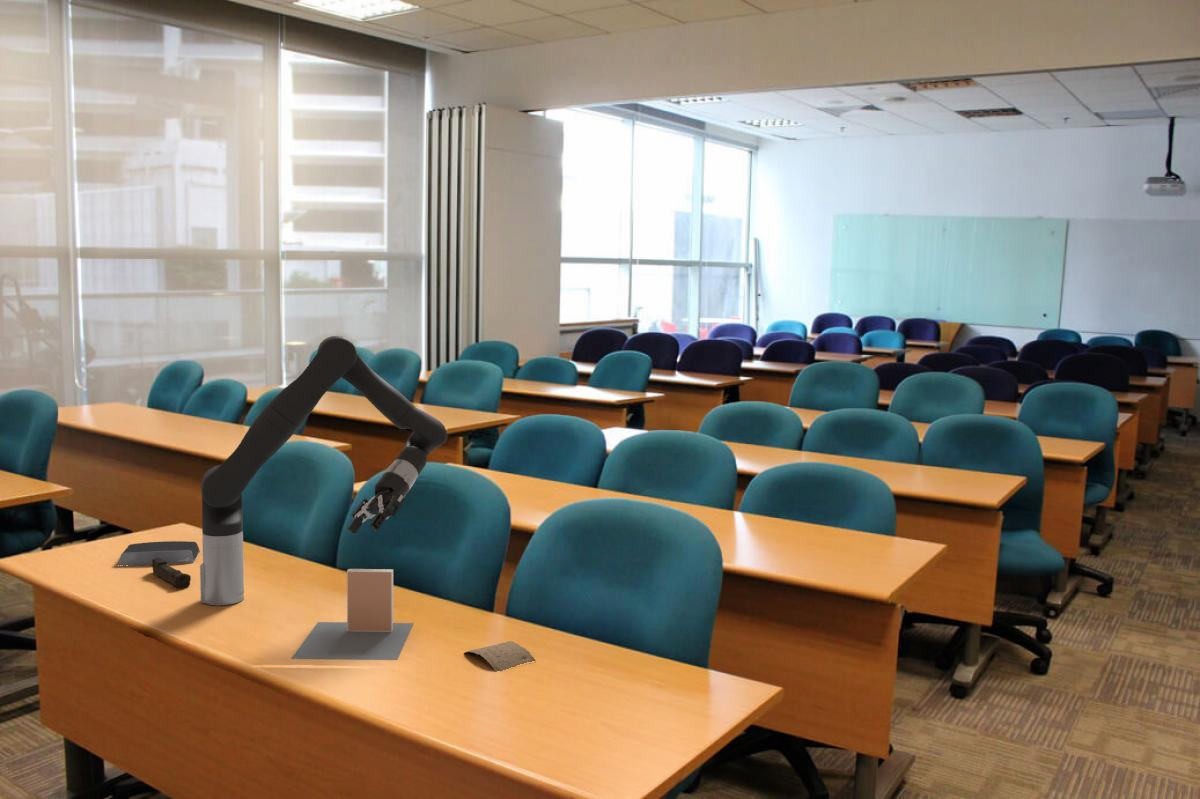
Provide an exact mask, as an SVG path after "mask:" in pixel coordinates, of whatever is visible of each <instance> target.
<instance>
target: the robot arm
mask: <svg viewBox="0 0 1200 799" xmlns="http://www.w3.org/2000/svg"><path fill="white" fill-rule="evenodd" d="M340 379H343V380H344V381H346V382H348V383H349V384H350V385H351V386H352V387H354V388H355V389H356V390H357V391H358V392H359V393H360V394H362V395H363V396H364V398H366V399H367V401H369V402H370V403H371V405H372V406H373V407H375V409H376V410H378V411H379V413H381V415H383V416H384V417H385V418H386V419H387V420H388V421H390V422H391V423H392V424H393V425H394V426H395V427H396V428H398V429H399V430H406V429H409V430H411V431H412V432H411V434H410V435H409V437H408V438H407V440H406V442H405V444H404V446H403V448H402V450H401V451H400V453H399V454H398V456H397V457H396V458H395V459H394V460H393V462H392V463H391V464H390V465H389V466H388V467H387V469H386V470H385V471H384V473H383V474H382V475H381V477H380V478H379V480H377V482H376V483H375V485H374V488H373V489H374V490H373V491H374V496H372V497H371V498H370V499H369V500H368V499H367V497H364V499H362V500H361V502H360V504H358V505H357V507H356V508H355V509H354V511H353V512H352V513H351V516H350V517H352V518H353V520H352V521H351V522H350V524H349V525H348V527H347V530H348V531H349V533H350V534H352V535H355V534H357V532H359V531H358V530H359V529H360V528H361V527H362V525H363V523H365V522H366V521H367V520H369V519H372V521H371V522H370V525H369V526H370V528H372V530H374V531H378V530H379V529H380V528H381V526H382V525H383V523H384V522H385V521H386V520H388V519H389V518H390V517H395V516H396V514H397V513H398V511H399V510H400V508H401V506H402V505H403V504H404V502H405V500H406V498H405V497H406V495H407V494H408V493H409V491H410V490H411V488H412V487H413V486H414V484H415V482H416V480H417V478H418V477H419V476H420V474H421V473H422V471H423V470H424V468H425V467H426V465H427V462H428V456H429V455H430V454H431V452H432V451H435V450H437V449H438V448H440V447H441V446H443V445H444V444H445V443H446V442H447V440H448V437H449V436H448V431H447V429H446V427H445V425H444V423H442V421H440V420H439V419H437V418H436V417H435V416H432V415H431V414H429V413H427V412H425V411H423V410H422V409H419V408H418V407H417V406H415V405H414V404H413V403H412V402H411V401H410V400H409V399H408V398H406V397H405V396H404V395H403V394H402V393H401V392H400V391H399V390H398V389H396V388H395V387H394V386H392V384H390V383H388V382H387V381H386V380H384V378H382V377H381V376H380V375H378V373H376V372H375V371H374V370H373V369H372V368H371V367H370V366H369V365H368V364H367V363H366V362H365V361H364V360H363V359H362V357H360V355H359V354H358V351H357V348H356V346H355V345H354V343H353V342H352V341H351V340H350V339H348V338H346V337H344V336H342V335H341V336H340V335H333V336H332V335H331V336H329V337H326V338H325V339H323V340H322V341H321V342H320V343H319V345H318V348H317V353H316V354H315V356H314V357H313V359H312V360H311V361H310V363H309V364H308V365H307V367H306V368H305V369H304V370H303V371H302V373H301V374H299V376H298V377H297V378H296V379H295V380H292V382H291V383H290V384H288V385H287V386H285V387H284V388H283V389H282V390H281V391H280V392H279V393H278V394H277V395H276V396H275V397H274V398H272V400H271V401H270V402H269V403H268V404H267V405H266V406H265V407H264V408H263V410H262V411H260V413H259V414H258V415H257V416H256V417H255V419H254V421H253V422H252V424H251V425H250V427H249V428H248V430H247V431H246V433H245V435H244V436H243V438H242V440H240V443H239V444H238V446H237V447H236V448H235V449H234V451H232V453H231V454H230V455H229V456H228V457H227V458H226V459H225V460H224V461H223V462H222V463H221V464H218V465H215V466H212V467H211V468H210V469H208V470H207V471H206V472H205V473H204V474H203V477H202V480H201V484H200V493H201V508H202V509H201V510H202V511H201V529H202V530H201V532H202V533H201V534H202V563H201V564H200V565H199V577H200V578H199V581H200V585H199V586H200V587H199V588H200V604H205V605H206V604H207V605H209V606H210V605H211V606H228V605H234V604H238V603H240V602H242V601H243V600H245V586H244V585H245V583H244V582H245V581H244V579H245V578H244V575H245V572H244V569H245V568H244V532H243V531H244V530H243V529H244V528H243V527H244V524H243V523H244V522H243V521H244V519H243V518H244V516H243V493H244V491H245V490H246V488H247V487H248V485H249V484H250V482H251V481H252V480H253V478H254V477H255V476H256V474H257V473H258V472H259V470H260V469H261V468H262V467H263V466H264V465H265V464H266V463H267V462H268V461H269V460H270V459H271V458H272V457H274V455H275V454H276V453H277V452H278V451H279V450H280V449H281V448H282V447H283V446H284V445H285V444H286V443H287V442H288V440H290V439H291V437H292V436H293V435H294V434H295V433H296V432H297V430H298V429H299V428H301V426H302V425H303V424H304V422H305V421H306V420H307V418H308V417H309V415H311V413H312V412H313V410H315V408H316V407H317V405H318V403H319V402H320V401H321V399H322V398H323V396H324V395H325V394H326V393H327V392H328V390H330V389H331V387H333V385H335V383H337V382H338V381H339V380H340ZM392 508H393V509H392Z"/></svg>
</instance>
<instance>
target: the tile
mask: <svg viewBox="0 0 1200 799" xmlns="http://www.w3.org/2000/svg"><path fill="white" fill-rule="evenodd" d="M346 588H347V589H346V603H347V604H346V613H347V614H346V615H347V616H346V620H347V621H346V622H347V631H363V632H392V631H393V623H394V569H391V568H390V569H387V568H386V569H385V568H382V569H378V568H377V569H376V568H374V569H373V568H348V569H347V571H346Z"/></svg>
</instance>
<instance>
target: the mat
mask: <svg viewBox="0 0 1200 799" xmlns="http://www.w3.org/2000/svg"><path fill="white" fill-rule="evenodd" d="M413 626H414V623H413V622H393V631H392V632H363V631H347V621H343V622H342V621H338V622H337V621H318V622H316V624H315V626H314V627H313V628H312V630H311V631H310V632H309V634H307V636H306V637H305V639H304V640H303V641H302V643H301V644H300V646H299V647H298V648H297V650H296V651H295V653H293V655H292V656H291V658H290V659H291V660H354V661H355V660H357V661H358V660H363V661H364V660H365V661H367V660H372V661H376V660H377V661H378V660H380V661H398V659H399V657H400V655H401V653H402V650H403V648H404V646H405V643H406V641H407V640H408V637H409V636H410V633H411V630H412V628H413Z"/></svg>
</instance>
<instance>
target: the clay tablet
mask: <svg viewBox="0 0 1200 799" xmlns="http://www.w3.org/2000/svg"><path fill="white" fill-rule="evenodd" d="M468 653H473V654H476V655H480V656H481V657H482V658H483V659H484V660H486V661H487V663H489V665H490V666H491V667H492V668H493V671H494V672H497V671H500V672H504V671H507V670H506V669H508V670H510V669H509V668H511V667H515V666H517V665H520V664H524V663H527V662H532V661H535V662H536V659H535V657H534V656H533V655H532V654H531V653H530V651H529V650H527V649H526V648H525V647H522V646H521V645H520V644H519V643H517V642H515V641H511V640H509V641H505V642H501V643H497V644H493V645H488V646H484V647H480V648H476V649H471V650H467V651H465V652H464V654H468ZM515 668H516V667H515ZM511 669H512V668H511ZM503 670H504V671H503ZM497 673H498V672H497Z"/></svg>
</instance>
